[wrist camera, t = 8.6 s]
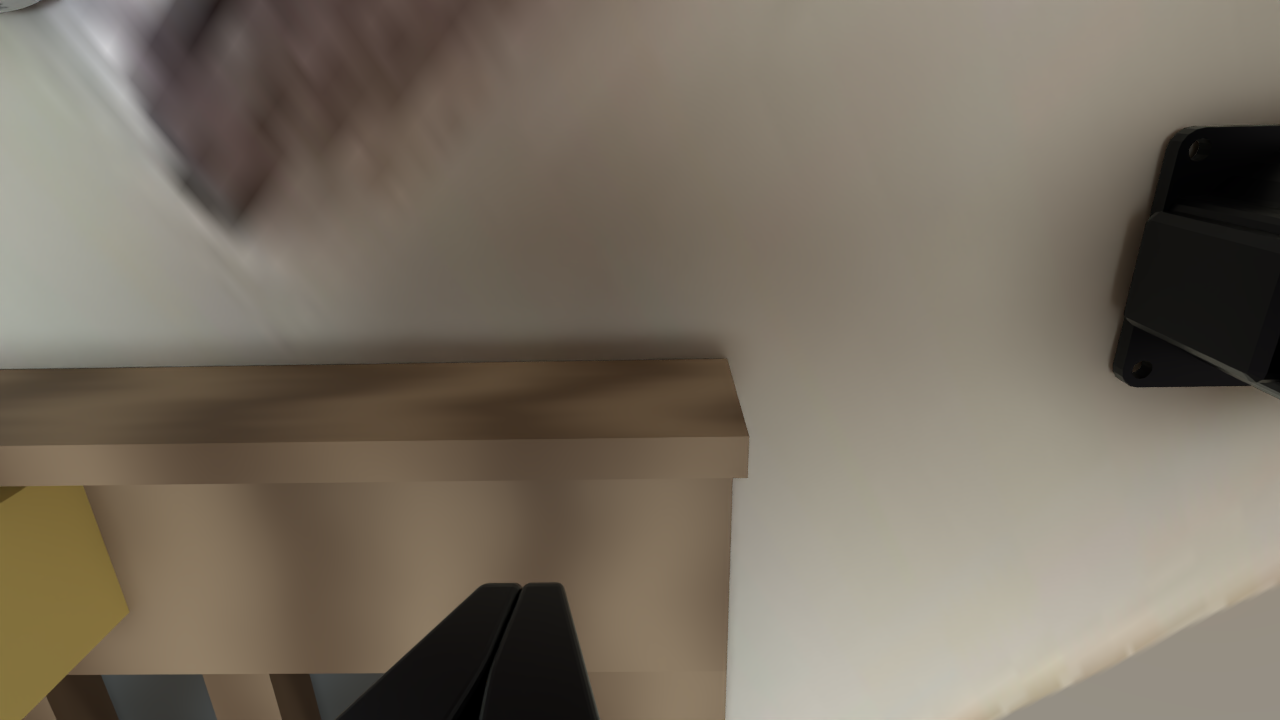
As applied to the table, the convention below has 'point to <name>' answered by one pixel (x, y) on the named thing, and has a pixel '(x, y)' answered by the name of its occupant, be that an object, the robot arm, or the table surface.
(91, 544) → the block
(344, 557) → the wooden tray
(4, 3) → the supplement bottle
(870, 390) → the table surface
